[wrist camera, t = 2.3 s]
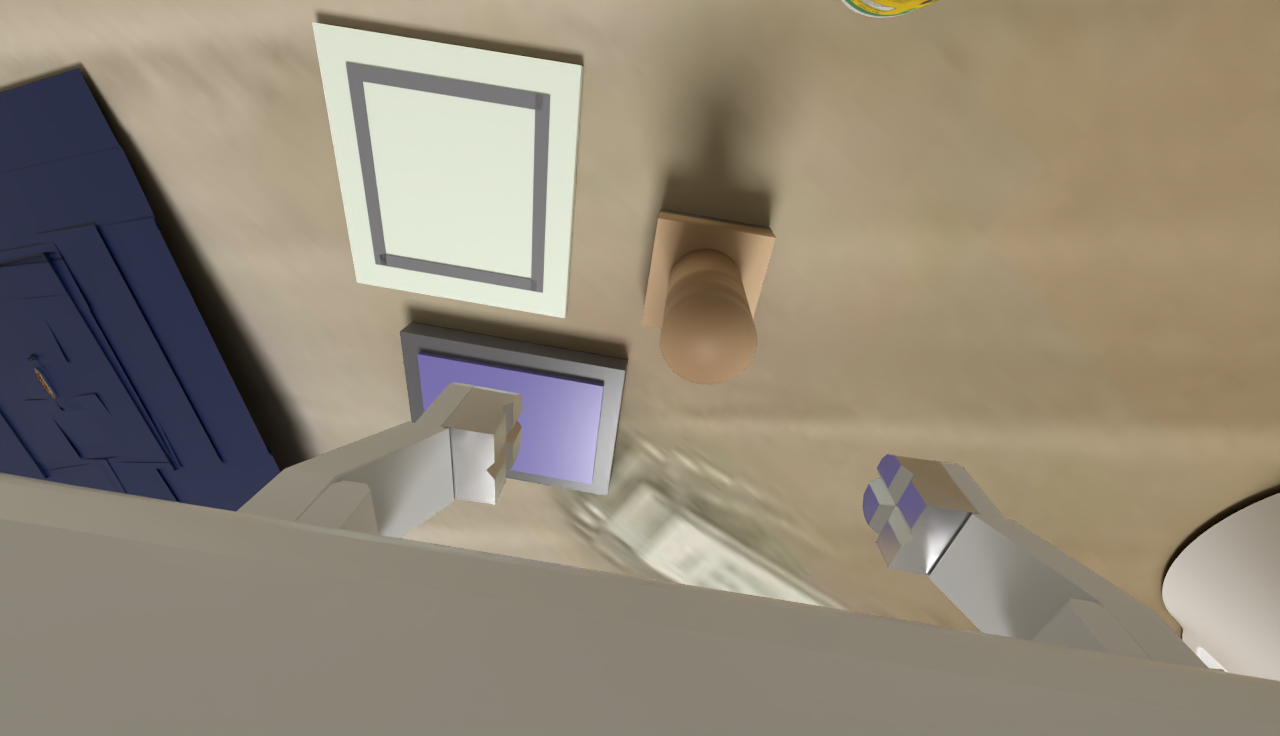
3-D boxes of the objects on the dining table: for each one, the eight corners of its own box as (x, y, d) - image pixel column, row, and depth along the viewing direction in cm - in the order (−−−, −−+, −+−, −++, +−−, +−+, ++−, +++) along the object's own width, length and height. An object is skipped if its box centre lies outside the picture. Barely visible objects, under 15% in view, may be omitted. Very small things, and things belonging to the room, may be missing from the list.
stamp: (769, 227, 21) (806, 284, 14) (741, 326, 23) (761, 416, 17) (660, 209, 21) (644, 257, 14) (645, 309, 24) (624, 392, 17)
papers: (99, 557, 38) (40, 594, 34) (-189, 156, 27) (-315, 153, 23) (364, 551, 34) (327, 592, 30) (151, 79, 23) (57, 62, 20)
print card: (583, 66, 19) (580, 65, 18) (566, 315, 24) (564, 318, 24) (319, 23, 19) (311, 21, 18) (361, 280, 24) (356, 282, 24)
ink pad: (628, 360, 25) (624, 373, 24) (610, 482, 29) (606, 499, 28) (412, 322, 25) (396, 333, 24) (426, 449, 30) (414, 464, 28)
